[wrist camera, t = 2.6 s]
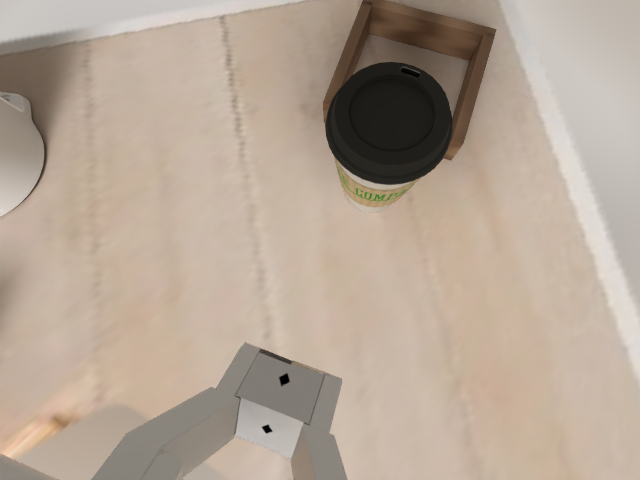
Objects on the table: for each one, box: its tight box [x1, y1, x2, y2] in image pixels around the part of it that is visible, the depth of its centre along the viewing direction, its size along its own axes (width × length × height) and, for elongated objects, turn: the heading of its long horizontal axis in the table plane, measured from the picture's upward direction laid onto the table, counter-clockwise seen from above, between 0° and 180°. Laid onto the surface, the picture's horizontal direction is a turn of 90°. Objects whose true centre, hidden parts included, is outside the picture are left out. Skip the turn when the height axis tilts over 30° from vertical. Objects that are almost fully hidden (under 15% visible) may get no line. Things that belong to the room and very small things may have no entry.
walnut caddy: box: [323, 0, 496, 160], centre depth 42 cm, size 15×15×4 cm
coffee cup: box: [325, 62, 453, 213], centre depth 34 cm, size 10×10×15 cm
